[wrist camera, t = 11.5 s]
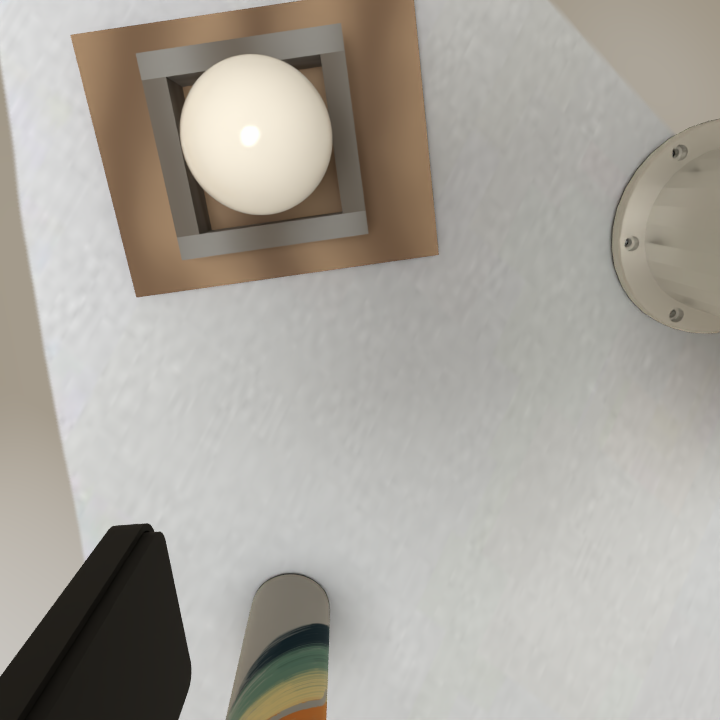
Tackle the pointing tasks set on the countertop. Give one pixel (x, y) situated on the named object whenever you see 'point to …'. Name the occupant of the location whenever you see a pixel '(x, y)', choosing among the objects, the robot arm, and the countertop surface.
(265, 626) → the lotion bottle
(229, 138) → the lightbulb
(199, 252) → the lamp socket
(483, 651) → the countertop surface
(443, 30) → the countertop surface
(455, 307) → the countertop surface
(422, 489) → the countertop surface
